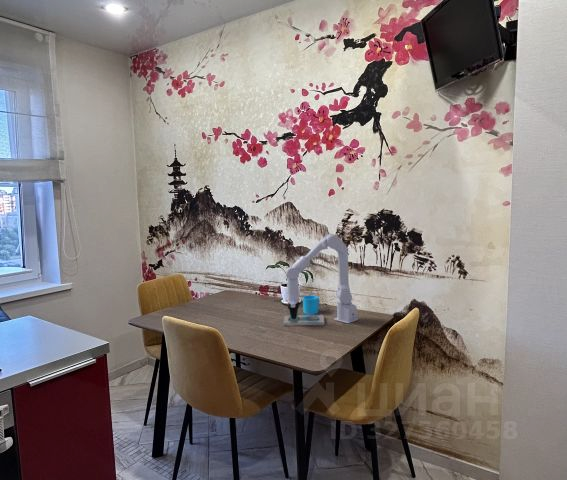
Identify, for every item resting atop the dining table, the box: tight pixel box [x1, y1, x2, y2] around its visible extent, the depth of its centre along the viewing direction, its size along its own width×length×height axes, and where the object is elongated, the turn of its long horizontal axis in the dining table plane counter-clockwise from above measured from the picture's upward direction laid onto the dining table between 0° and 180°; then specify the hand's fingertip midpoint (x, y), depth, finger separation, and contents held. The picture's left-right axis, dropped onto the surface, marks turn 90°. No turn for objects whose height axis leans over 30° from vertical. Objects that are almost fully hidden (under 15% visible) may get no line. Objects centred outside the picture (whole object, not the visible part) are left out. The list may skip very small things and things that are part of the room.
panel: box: [283, 314, 325, 327], centre depth 200 cm, size 20×11×2 cm, turn 87°
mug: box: [302, 294, 320, 315], centre depth 217 cm, size 12×8×8 cm
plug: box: [289, 310, 299, 321], centre depth 200 cm, size 4×4×7 cm
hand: (293, 317), depth 200 cm, fingers closed on plug, 4 cm apart
